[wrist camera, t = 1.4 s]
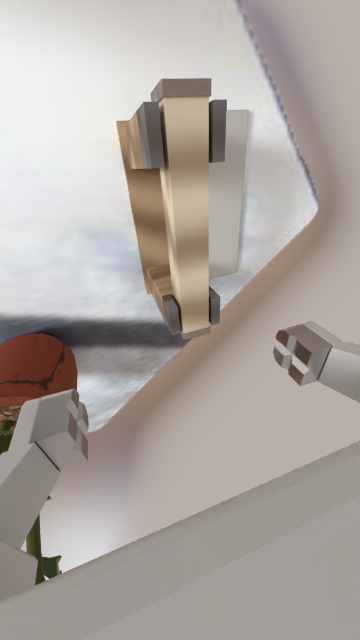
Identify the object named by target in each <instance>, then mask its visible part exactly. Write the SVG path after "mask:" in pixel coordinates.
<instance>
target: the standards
mask: <svg viewBox="0 0 360 640" xmlns="http://www.w3.org/2000/svg"><path fill="white" fill-rule="evenodd" d="M226 109H227V100H213V101H211V102H209V163H215V162H225V139H226ZM116 124H117V130H118V135H119V141H120V146H121V152H122V157H123V163H124V169H125V174H126V180H127V185H128V191H129V196H130V202H131V208H132V213H133V219H134V224H135V230H136V235H137V241H138V247H139V252H140V258H141V263H142V269H143V274H144V280H145V286H146V291H147V294H152V295H153V297H154V299H155V301H156V303H157V305H158V307H159V310H160V312H161V314H162V316H163V318H164V320H165V322H166V324H167V326H168V328H169V330H170V332H171V334H172V335H176V334H179V333H180V326H179V315H178V307H177V305H176V303H175V302H174V300H173V290H172V281H171V271H170V262H169V252H168V242H167V233H166V223H165V214H164V204H163V195H162V185H161V175H160V168H162V167H165V166H164V156H163V145H162V134H161V124H160V113H159V102H143V103H142V105H141V106H140V107H139V109H138V110H137V111H136V113H135V114H134V115H133V117H132V118H131V119H130V120H128V121H117V122H116ZM219 317H220V296H219V295H218V294H217V293H216V292H215V291H214V290H213V289H212V288H211V287H210V286H209V322H210V323H211V324H212V325H214V324H217V323H219Z"/></svg>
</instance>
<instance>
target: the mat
mask: <svg viewBox="0 0 360 640" xmlns="http://www.w3.org/2000/svg"><path fill="white" fill-rule="evenodd" d="M248 113H249V110H228V111H226V139H225V162H215V163H209V278H211V277H216V276H221V275H225V274H230V273H235V272H237V259H238V245H239V232H240V219H241V206H242V193H243V179H244V166H245V153H246V140H247V126H248Z"/></svg>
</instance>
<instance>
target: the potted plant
mask: <svg viewBox="0 0 360 640" xmlns="http://www.w3.org/2000/svg"><path fill="white" fill-rule="evenodd" d="M71 389H76V391H77V367H76V362H75V358H74V354H73V353H72V351H71V350H70V348H69V347H68V346H67V345H66V344H64V343H63V342H62V341H60V340H59V339H57V338H55V337H53V336H50V335H47V334H41V333H31V334H25V335H21V336H17V337H14V338H11V339H9V340H7V341H5V342H4V343H2V344H1V345H0V455H1V454H2V453H3V452H6V451H8V450H9V446H10V443H11V440H12V437H13V434H14V430H15V427H16V424H17V421H18V418H19V414H20V411H21V408H22V406H23V404H24V403H25V402H26V401H29V400H33V399H37V398H41V397H44V396H47V395H51V394H55V393H59V392H63V391H67V390H71ZM50 499H52V498H51V497H50V496H48V498H47V500H50ZM39 518H40V517H39V515H38V517H37V518H36V520H35V522H34V524H33V526H32V528H31V530H30V532H29V533H28V535H27V537H26V544H27V553H29V554H31V555H32V556H34V557H35V558H36V559H37V560H38V565H37V572H36V580H35V585H37V584H40V583H42V582H44V581H45V577H44V575H45V576H46V577H48V578H49V579H51V578H53V577H55V576H58V575H60V574H61V573H62V571H60V572H59V567H58V563H59V561H60V559H61V556H55V557H51V558H47V557H42V554H41V540H40V519H39Z"/></svg>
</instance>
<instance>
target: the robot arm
mask: <svg viewBox="0 0 360 640" xmlns="http://www.w3.org/2000/svg"><path fill="white" fill-rule="evenodd" d="M276 339H277V340H278V342H277V343H276V344H275V346H274V350H273V354H274V357H275V360H276V361H277V363H278V364H279V365H280V366H281V367H283V368H286V369H288V373H289V375H290V376H291V377H292V378H293V379H294V380H295V381H296V382H297V383H298V384H299V385H300V386H302V385H305V384H309V383H312V382H315V381H318V382H320V383H322V384H324V385H326V386H328V387H330V388H332V389H334V390H335V391H337V392H339V393H341V394H343V395H345V396H348V397H349V398H351V399H353V400H356V401H357V402H360V345H357V344H354V343H350V342H347V343H345V342H343V341H342V340H340V339H339V338H337V337H336V336H334V335H333V334H331V333H330V332H328V331H327V330H325V329H324V328H322V327H321V326H319V325H318V324H316V323H315V322H311V321H310V322H306V323H303V324H300V325H296V326H293V327H289V328H286V329H282V330H279V332H278V333H277V335H276ZM87 431H88V415H87V411H86V408H85V406H84V404H83V403H82V402H79V394H78V392H77V391H76V389H71V390H67V391H63V392H59V393H55V394H51V395H47V396H44V397H41V398H37V399H33V400H29V401H26V402H25V403H24V404H23V406H22V408H21V411H20V414H19V418H18V421H17V424H16V427H15V430H14V434H13V437H12V440H11V443H10V446H9V450H8V451H6V452H3V453H2V454H1V455H0V640H360V441H358V442H356V443H354V444H351V445H349V446H347V447H345V448H342V449H340V450H338V451H336V452H333V453H331V454H329V455H327V456H324V457H322V458H320V459H318V460H316V461H313V462H311V463H309V464H306V465H304V466H302V467H300V468H298V469H295V470H293V471H291V472H289V473H287V474H284V475H282V476H280V477H277V478H275V479H273V480H271V481H268V482H266V483H264V484H262V485H259V486H257V487H255V488H253V489H251V490H248V491H246V492H244V493H241V494H239V495H237V496H235V497H233V498H230V499H228V500H226V501H224V502H221V503H219V504H217V505H215V506H212V507H210V508H208V509H206V510H203V511H201V512H199V513H197V514H195V515H192V516H190V517H188V518H185V519H183V520H181V521H179V522H176V523H174V524H172V525H170V526H168V527H165V528H163V529H161V530H159V531H156V532H154V533H152V534H149V535H147V536H145V537H143V538H141V539H138V540H136V541H134V542H132V543H129V544H127V545H125V546H123V547H120V548H118V549H116V550H114V551H111V552H109V553H107V554H105V555H102V556H100V557H98V558H96V559H94V560H91V561H89V562H87V563H84V564H82V565H80V566H78V567H76V568H73V569H71V570H69V571H67V572H64V573H62V574H60V575H58V576H55V577H53V578H51V579H49V580H46V581H44V582H42V583H40V584H37V585H35V580H36V572H37V565H38V560H37V559H36V558H35V557H34V556H32V555H31V554H29V553H27V552H25V551H23V550H21V549H20V548H21V546H22V545H23V543H24V541H25V539H26V537H27V535H28V533H29V532H30V530H31V528H32V526H33V524H34V522H35V520H36V518H37V517H38V515H39V513H40V511H41V509H42V507H43V505H44V503H45V502H46V500H47V498H48V496H49V494H50V492H51V490H52V488H53V486H54V485H55V483H56V481H57V479H58V477H59V475H60V472H61V471H63V470H66V469H68V468H71V467H74V466H76V465H79V464H82V463H84V462H87V461H88V440H87V439H86V437H85V434H86V432H87Z"/></svg>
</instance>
